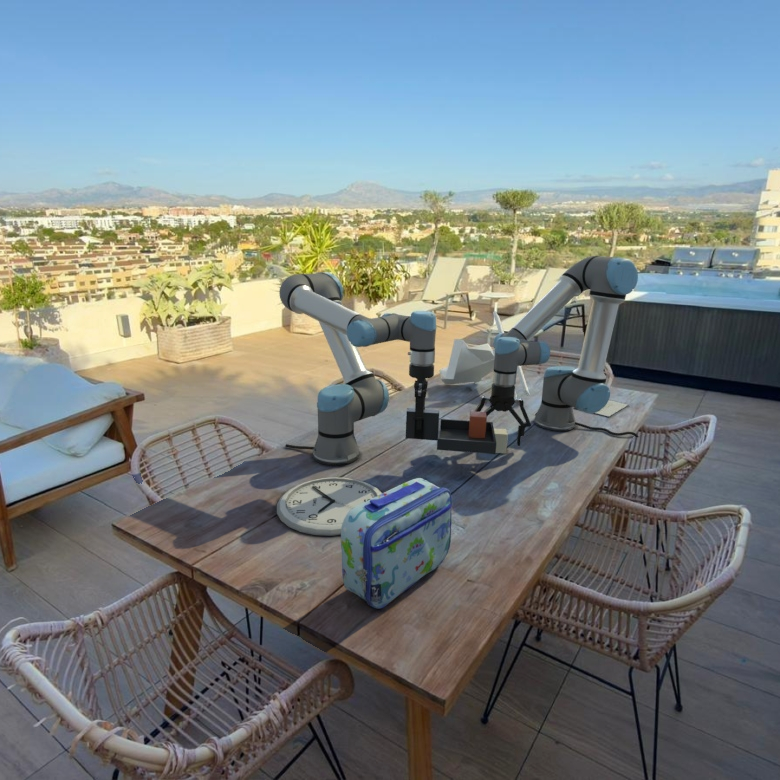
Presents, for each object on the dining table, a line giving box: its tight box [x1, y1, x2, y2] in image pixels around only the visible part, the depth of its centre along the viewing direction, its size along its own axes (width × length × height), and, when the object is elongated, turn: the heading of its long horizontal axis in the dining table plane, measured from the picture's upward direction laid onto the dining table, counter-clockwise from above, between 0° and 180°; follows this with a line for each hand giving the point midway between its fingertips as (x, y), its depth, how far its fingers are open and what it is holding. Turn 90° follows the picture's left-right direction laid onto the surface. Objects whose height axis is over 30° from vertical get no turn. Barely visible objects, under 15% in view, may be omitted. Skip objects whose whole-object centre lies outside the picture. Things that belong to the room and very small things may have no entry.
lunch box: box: [340, 477, 452, 610], centre depth 110 cm, size 26×11×21 cm, turn 134°
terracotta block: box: [468, 410, 488, 438], centre depth 165 cm, size 5×5×7 cm
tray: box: [405, 407, 497, 455], centre depth 162 cm, size 27×17×9 cm, turn 83°
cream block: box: [494, 427, 509, 455], centre depth 179 cm, size 5×5×7 cm
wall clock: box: [276, 476, 383, 537], centre depth 142 cm, size 30×2×30 cm
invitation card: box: [595, 399, 629, 418], centre depth 226 cm, size 21×1×15 cm
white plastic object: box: [438, 310, 531, 399], centre depth 245 cm, size 37×45×31 cm
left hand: (419, 435), depth 164 cm, fingers closed on tray, 3 cm apart
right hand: (498, 443), depth 179 cm, fingers open, 13 cm apart
